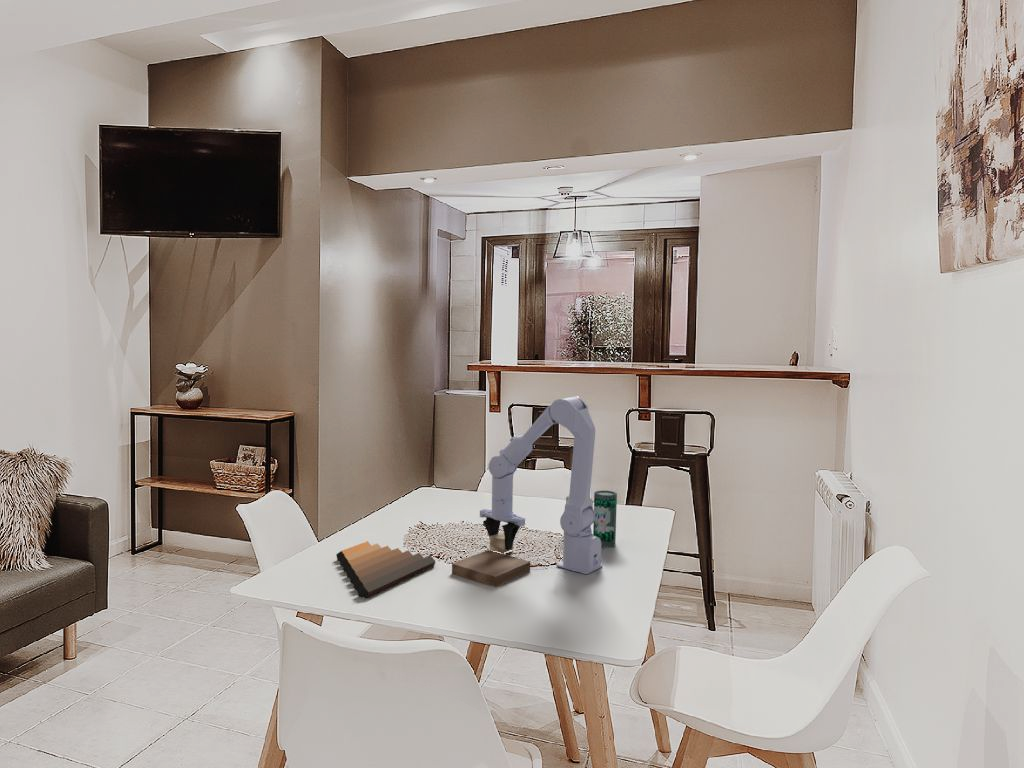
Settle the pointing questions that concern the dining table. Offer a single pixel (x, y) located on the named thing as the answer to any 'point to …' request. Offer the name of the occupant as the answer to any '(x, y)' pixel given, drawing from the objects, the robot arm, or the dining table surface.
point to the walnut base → (491, 568)
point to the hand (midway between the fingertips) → (501, 547)
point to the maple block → (498, 543)
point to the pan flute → (380, 567)
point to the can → (605, 517)
